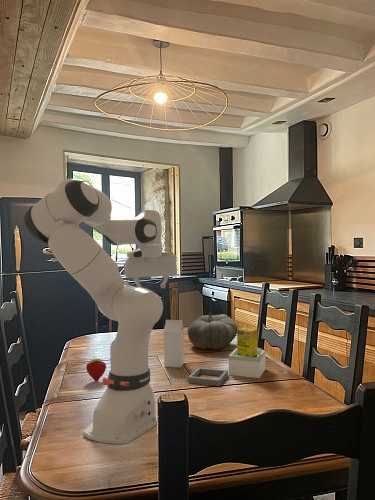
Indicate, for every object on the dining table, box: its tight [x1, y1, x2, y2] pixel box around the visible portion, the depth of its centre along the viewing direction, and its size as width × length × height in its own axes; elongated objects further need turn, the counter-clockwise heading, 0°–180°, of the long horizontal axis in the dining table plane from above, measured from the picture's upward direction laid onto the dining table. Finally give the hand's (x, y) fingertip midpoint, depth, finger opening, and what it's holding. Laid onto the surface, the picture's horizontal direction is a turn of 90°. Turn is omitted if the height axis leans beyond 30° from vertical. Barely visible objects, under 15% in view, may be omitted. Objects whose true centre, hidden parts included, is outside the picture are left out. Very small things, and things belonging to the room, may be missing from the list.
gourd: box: [187, 311, 239, 351], centre depth 198 cm, size 25×25×17 cm
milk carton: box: [163, 319, 186, 368], centre depth 169 cm, size 7×7×19 cm
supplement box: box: [236, 327, 258, 357], centre depth 158 cm, size 6×6×11 cm
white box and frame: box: [187, 347, 266, 387], centre depth 155 cm, size 25×24×8 cm
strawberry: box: [85, 355, 107, 382], centre depth 150 cm, size 6×8×10 cm
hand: (151, 288), depth 153 cm, fingers open, 8 cm apart
